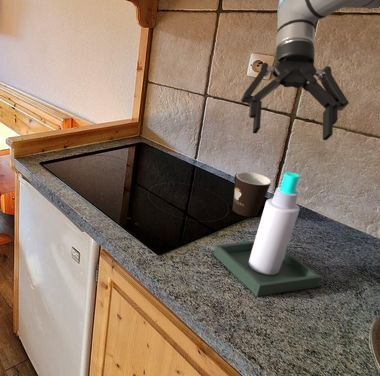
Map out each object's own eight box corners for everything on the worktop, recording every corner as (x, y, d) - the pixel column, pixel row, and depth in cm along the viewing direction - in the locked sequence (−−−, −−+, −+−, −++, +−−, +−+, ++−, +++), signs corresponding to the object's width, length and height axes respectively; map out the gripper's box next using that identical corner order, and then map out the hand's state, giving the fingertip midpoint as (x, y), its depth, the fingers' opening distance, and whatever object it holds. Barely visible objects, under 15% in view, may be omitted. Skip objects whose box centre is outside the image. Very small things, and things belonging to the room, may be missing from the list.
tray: (317, 287, 83) (321, 276, 82) (256, 296, 80) (260, 285, 79) (267, 248, 96) (270, 238, 95) (213, 254, 93) (215, 245, 92)
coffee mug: (264, 221, 108) (273, 187, 104) (229, 215, 110) (237, 181, 106) (258, 202, 118) (267, 170, 114) (226, 197, 120) (234, 166, 116)
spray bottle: (247, 270, 87) (275, 176, 77) (248, 256, 91) (274, 166, 82) (279, 279, 84) (311, 183, 75) (278, 264, 89) (308, 172, 80)
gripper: (349, 62, 92) (349, 147, 86) (231, 56, 98) (224, 135, 92) (367, 41, 85) (368, 132, 79) (239, 36, 91) (232, 119, 85)
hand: (291, 134), depth 86 cm, fingers open, 13 cm apart
